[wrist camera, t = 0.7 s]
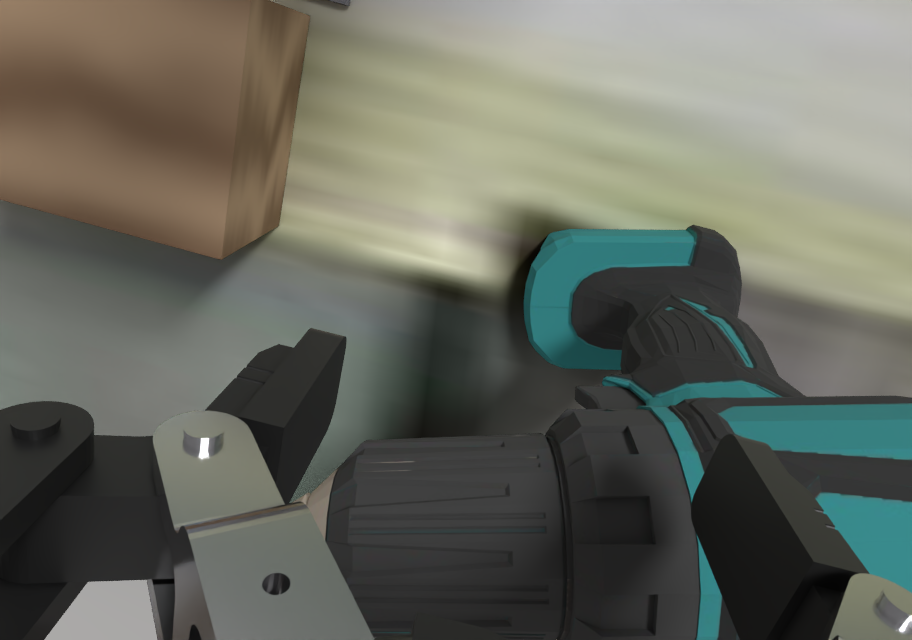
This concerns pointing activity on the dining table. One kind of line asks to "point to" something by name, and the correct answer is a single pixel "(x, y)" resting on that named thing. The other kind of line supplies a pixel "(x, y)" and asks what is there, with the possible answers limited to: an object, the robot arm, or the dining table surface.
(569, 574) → the power drill
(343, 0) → the mat
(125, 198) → the walnut block
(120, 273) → the dining table surface
